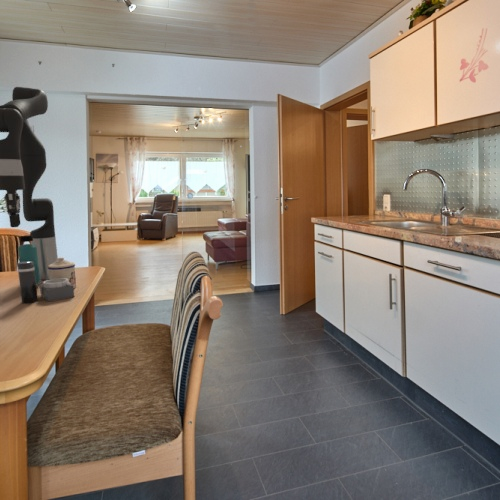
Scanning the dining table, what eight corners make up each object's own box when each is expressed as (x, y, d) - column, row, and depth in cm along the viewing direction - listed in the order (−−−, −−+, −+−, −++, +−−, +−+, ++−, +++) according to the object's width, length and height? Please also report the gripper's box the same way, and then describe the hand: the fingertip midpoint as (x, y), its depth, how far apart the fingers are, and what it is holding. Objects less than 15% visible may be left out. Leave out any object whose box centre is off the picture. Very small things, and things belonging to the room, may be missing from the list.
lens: (20, 301, 129) (15, 262, 127) (36, 298, 132) (31, 260, 130) (23, 304, 125) (18, 264, 123) (39, 301, 128) (35, 262, 126)
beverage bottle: (37, 284, 152) (31, 234, 149) (44, 287, 148) (39, 235, 145) (19, 288, 147) (12, 235, 144) (26, 290, 143) (20, 236, 140)
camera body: (40, 296, 135) (38, 280, 134) (65, 291, 140) (64, 276, 140) (47, 301, 128) (46, 285, 127) (74, 296, 133) (72, 281, 132)
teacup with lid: (75, 290, 142) (72, 258, 140) (48, 292, 139) (44, 260, 138) (79, 282, 153) (76, 253, 152) (54, 285, 151) (51, 255, 149)
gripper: (22, 173, 117) (28, 227, 120) (24, 175, 130) (29, 223, 133) (-8, 173, 114) (-1, 228, 117) (-2, 175, 127) (4, 225, 129)
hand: (15, 226), depth 125 cm, fingers open, 8 cm apart
